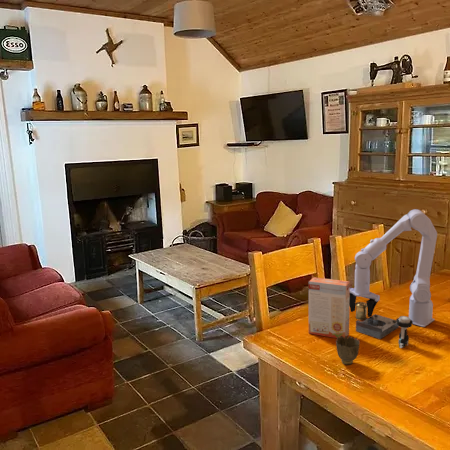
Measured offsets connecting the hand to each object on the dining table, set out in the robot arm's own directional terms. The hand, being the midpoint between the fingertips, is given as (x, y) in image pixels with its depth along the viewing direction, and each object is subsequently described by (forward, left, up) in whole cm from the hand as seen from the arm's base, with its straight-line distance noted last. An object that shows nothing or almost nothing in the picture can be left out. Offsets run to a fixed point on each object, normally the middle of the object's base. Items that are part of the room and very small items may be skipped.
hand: (361, 313), depth 183 cm
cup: (+35, +16, -2) cm, 39 cm away
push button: (+11, +23, -2) cm, 26 cm away
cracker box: (+21, -1, -2) cm, 21 cm away
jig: (+5, +10, -2) cm, 11 cm away
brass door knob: (0, 0, -2) cm, 2 cm away
